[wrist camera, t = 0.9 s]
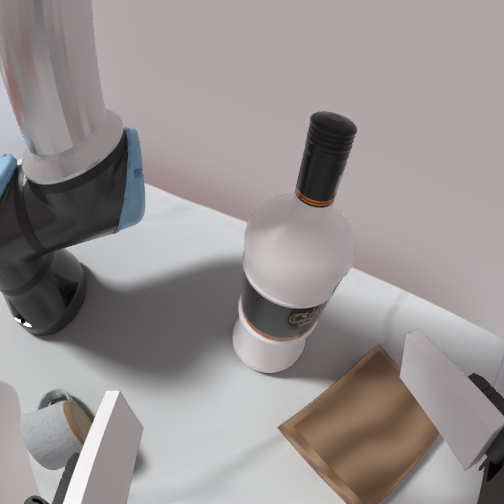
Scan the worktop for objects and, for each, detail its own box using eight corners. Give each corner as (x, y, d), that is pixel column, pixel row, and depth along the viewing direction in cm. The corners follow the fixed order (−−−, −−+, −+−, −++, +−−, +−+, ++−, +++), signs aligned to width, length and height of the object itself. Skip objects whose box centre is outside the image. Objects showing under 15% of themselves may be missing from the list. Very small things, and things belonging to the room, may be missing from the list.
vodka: (256, 300, 40) (293, 80, 17) (313, 331, 38) (419, 129, 15) (218, 350, 35) (209, 116, 12) (280, 387, 33) (409, 198, 9)
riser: (277, 427, 29) (283, 424, 26) (366, 354, 36) (379, 342, 33) (352, 509, 22) (367, 514, 18) (430, 427, 28) (448, 421, 25)
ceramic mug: (111, 451, 25) (83, 448, 19) (66, 471, 21) (33, 469, 15) (76, 382, 30) (47, 363, 24) (36, 403, 26) (3, 387, 20)
